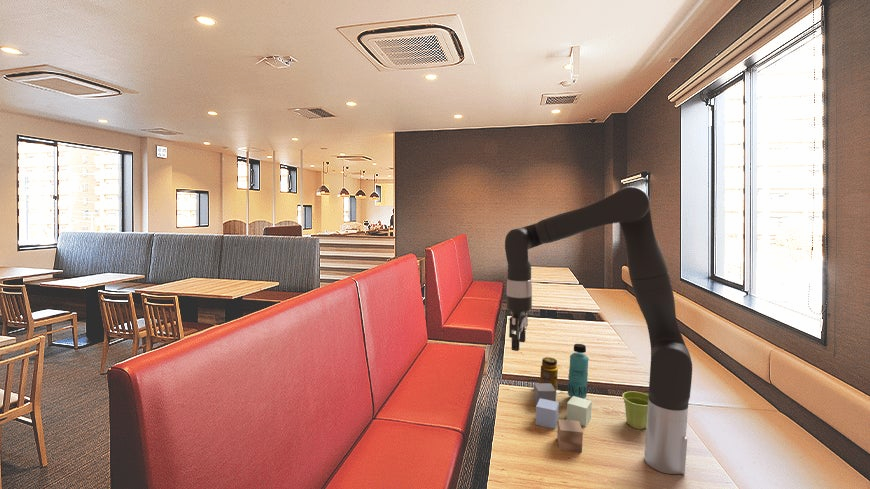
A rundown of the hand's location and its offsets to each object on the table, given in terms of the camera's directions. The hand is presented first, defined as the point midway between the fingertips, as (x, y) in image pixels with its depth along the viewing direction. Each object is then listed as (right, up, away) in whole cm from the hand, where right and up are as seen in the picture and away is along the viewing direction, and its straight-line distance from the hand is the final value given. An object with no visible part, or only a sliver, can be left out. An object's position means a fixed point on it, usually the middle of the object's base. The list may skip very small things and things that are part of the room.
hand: (518, 345), depth 127 cm
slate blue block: (+10, -25, +4) cm, 28 cm away
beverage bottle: (+25, -24, +20) cm, 40 cm away
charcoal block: (+12, -24, +17) cm, 32 cm away
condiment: (+15, -23, +26) cm, 38 cm away
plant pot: (+38, -26, +4) cm, 46 cm away
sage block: (+21, -25, +6) cm, 33 cm away
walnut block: (+13, -27, -8) cm, 31 cm away
